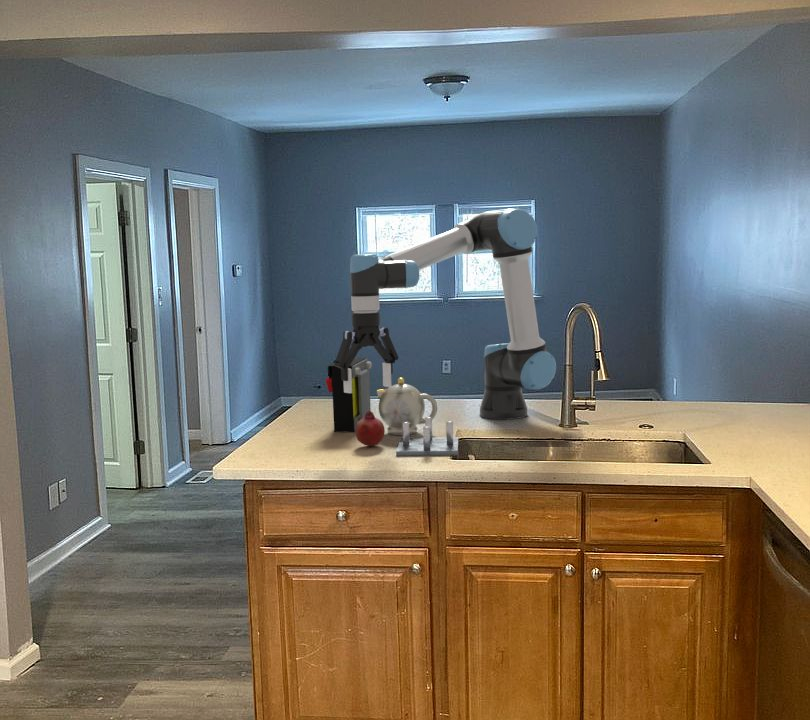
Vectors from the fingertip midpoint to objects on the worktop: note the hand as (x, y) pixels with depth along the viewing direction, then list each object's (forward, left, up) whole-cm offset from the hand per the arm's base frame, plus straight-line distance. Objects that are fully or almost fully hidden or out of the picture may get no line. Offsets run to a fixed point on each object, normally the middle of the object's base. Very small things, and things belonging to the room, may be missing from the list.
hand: (368, 389), depth 231 cm
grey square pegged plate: (-16, +3, -16) cm, 23 cm away
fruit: (0, 0, -16) cm, 16 cm away
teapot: (-9, -17, -16) cm, 25 cm away
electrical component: (+9, -28, -16) cm, 34 cm away
